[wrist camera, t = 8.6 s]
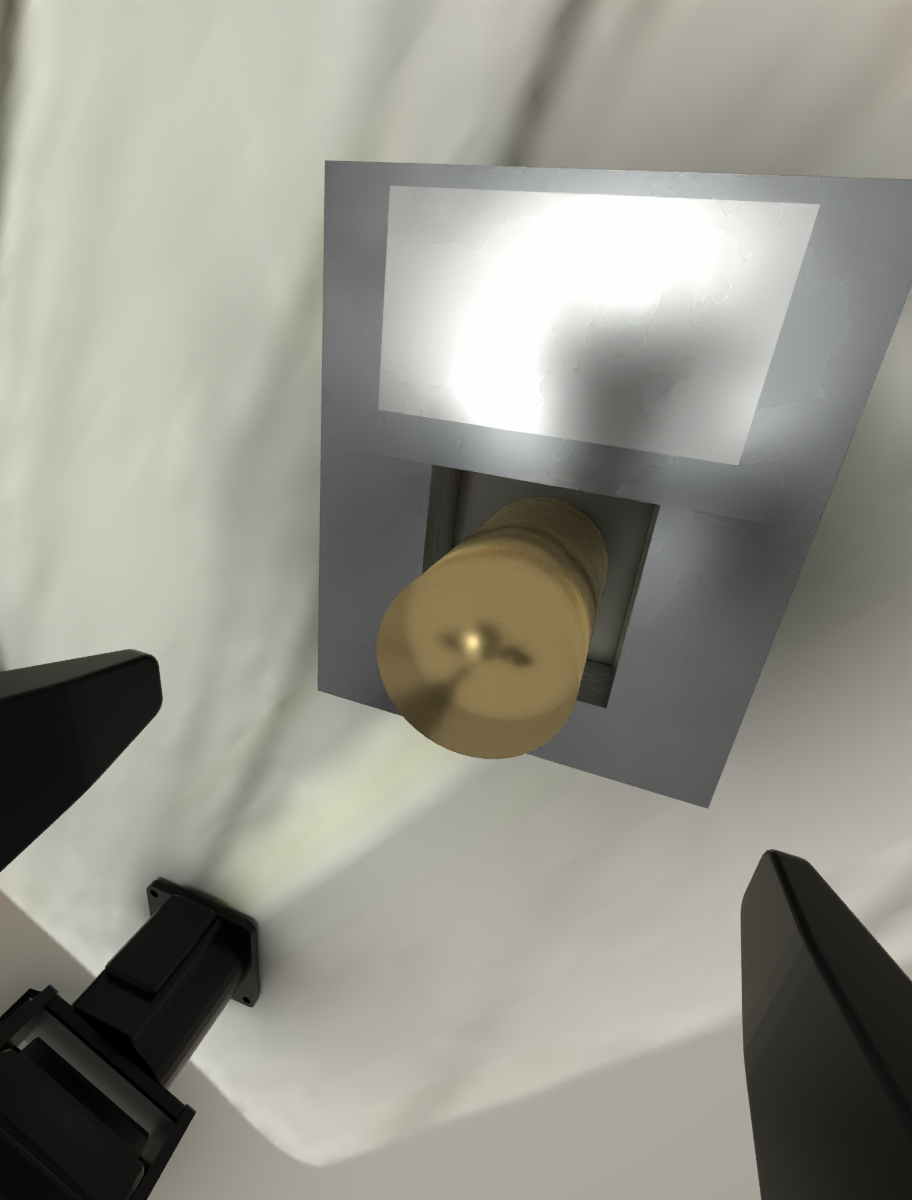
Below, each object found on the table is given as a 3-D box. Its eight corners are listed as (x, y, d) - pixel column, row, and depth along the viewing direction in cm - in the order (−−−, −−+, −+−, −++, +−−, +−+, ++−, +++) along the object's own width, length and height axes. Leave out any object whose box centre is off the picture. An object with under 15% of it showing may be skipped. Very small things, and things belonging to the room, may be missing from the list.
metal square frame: (701, 753, 17) (710, 829, 14) (354, 656, 20) (304, 702, 17) (895, 218, 12) (976, 163, 9) (375, 193, 15) (304, 147, 12)
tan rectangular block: (592, 637, 17) (556, 783, 11) (468, 607, 18) (371, 725, 12) (622, 510, 15) (600, 597, 9) (485, 485, 16) (382, 549, 10)
